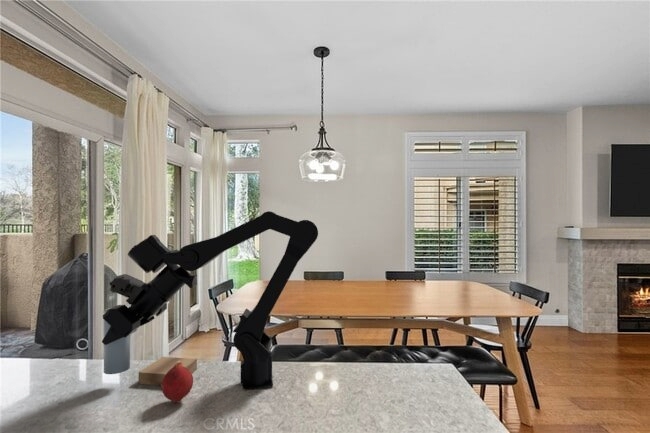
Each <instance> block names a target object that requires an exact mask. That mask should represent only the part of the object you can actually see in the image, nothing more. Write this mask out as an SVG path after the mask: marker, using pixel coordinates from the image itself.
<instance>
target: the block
mask: <svg viewBox="0 0 650 433" xmlns="http://www.w3.org/2000/svg"><path fill="white" fill-rule="evenodd" d="M178 361H181V362H182V366H184V367H186V368H187V369H188V370H189V371H190V372H191V374H192V375H193V373H194V372H196V370H197V369H198V359H197V358H190V357H189V358H188V357H173V356H172V357H169V356H162V357H161V358H159V359H157V360H156V361H154V362H152V363H151V364H150V365H148V366H146V367H144V368H143V369H141V370H140V371H138V384H141V385H152V386H162V381H163V378H164V376H165V375H166V373H167V372H168V371H169V370H170V369H171V368H173V367H174V365H175V364H176V362H178Z"/></svg>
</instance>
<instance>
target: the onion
mask: <svg viewBox="0 0 650 433" xmlns="http://www.w3.org/2000/svg"><path fill="white" fill-rule="evenodd" d="M193 384H194V376H193V373H192V374H191V372H190V371H189V370H188V369H187V368H186V367H184V366H182V362H181V361H178V362H176V364H175V365H174V367H173V368H171V369H170V370H169V371H168V372H167V373H166V375H165V376H164V378H163V381H162V385H161V391H162V394H163V396H164V397H165V398H166V399H167V400H168V401H169V400H170V401H172V402H174V403H180V402H181V401H182V400H183V399H184V398H186V396H188V395H189V394H190V392H191V390H192V389H193V386H194V385H193Z"/></svg>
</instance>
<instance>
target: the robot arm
mask: <svg viewBox="0 0 650 433" xmlns="http://www.w3.org/2000/svg"><path fill="white" fill-rule="evenodd" d="M269 230H270V231H274V232H277V233H279V234H282V235H285V236H287V237H289V239H288V241H287V245H286V248H285V251H284V254H283V256H282V258H281V260H280V261H279V263H278V265H277V267H276V268H275V271H274V272H273V274H272V276H271V278H270V280H269V281H268V283H267V285H266V287H265V288H264V290H263V293H262V294H261V296H260V298H259V300H258V302H257V304H256V305H255V306H254V307H253V308H252V310H251V311H250V310H249V309H248V308H245V309H244V311H243V313H242V315H241V317H240V319H239V321H238V322H237V324H236V325H235V327H234V328H233V330H232V333H234V335H233V339H232V340H233V344H234V347H235V348H236V350H237V351H238V352H240V354H241V356H242V359H243V360H240V384H241V385H242V390H244V391H245V390H246V391H248V390H255V389H265V388H273V387H274V380H273V354H272V351H271V348H272V347H271V346H272V342H273V339H272V338H271V337H270V335H268V334H267V333H266V332H265V328H266V325H267V322H268V319H269V316H270V315H271V312H272V310H273V309H274V307H275V305H276V303H277V301H278V300H279V298H280V296H281V294H282V292H283V290H284V289H285V287H286V285H287V284H288V281H289V279H290V277H291V276H292V273H293V272H294V270H295V268H296V267H297V265H298V263H299V262H300V260H301V259H302V258H303V256H305V254H306V253H307V252H308V251H309V250H310V248H311V247H312V246H313V245H314V243H315V242H316V240H317V239H318V237H319V228H318V227H317V225H316V224H315V223H314V222H312V221H311V220H308V219H303V220H299V221H297V220H293V219H291V218H288V217H285V216H282V215H280V214H277V213H276V212H274V211H270V210H268V211H264V212H263V213H262V214H261V215H259V216H257V217H255V218H252V219H250V220H249V221H246V222H245V223H242V224H240V225H238V226H236V227H234V228H231V229H229V230H227V231H226V232H224V233H222V234H219V235H217V236H216V237H215V236H214V237H211V238H207V239H204V240H200V241H196V242H194V243H191V244H187V245H186V244H185V245H184V246H183V247H181V248H180V249H179V250H178V249H172V250H170V249H169V248H168V247H167V246H166V245H165V244H164V243H163V242H161V240H160V238H159V237H158V236H157V235H155V234H150V235H149V236H147V238H145V239H143V240H142V241H140V242H139V243H137V244H135V245H134V246H133V247H132V248H130V250H129V251H128V253H127V256H128V257H129V258H130V259H131V260H132V261H133V262H134V263H135V264H136V265H138V267H140V268H141V270H142V271H143V272H145V274H149V273H151V272H152V273H153V274H156V275H155V276H154V278H152V280H150V281H149V282H147V283H146V282H144V281H143V280H141V279H139V278H136V277H133V276H132V275H130V274H125V273H123V274H119V275H116V276H115V277H114V278H113V280H112V281H110V282H109V286H110V288H109V291H110V292H111V293H116V294H118V295H121V296H122V297H125V298H127V299H126V300H125V301H126V302H127V304H129V305H130V306H127V305H126V304H117V305H115V306H113V307H110V308H111V309H109V308H108V309H109V310H108V311H107V312H106V313H105V314H104V315H103V314H102V319H103V321H104V320H105V321H106V322H107V323H108V324H109V325H110V328H109V330H108V332H107V333H106V335H105V337H104V336H103V339H102V340H101V343H102V344H103V346H104V345H107V344H109V343H111V342H114V341H116V340H118V339H121V338H123V337H125V338H126V337H127V336H129V335H130V336H131V335H132V334H134V333H135V332H136V331H138V329H139V328H140V327H143V326H144V325H146V324H148V323H150V322H151V321H154V319H155V317H159V316H160V315H162V314H163V313H164V312H165V311H166V310H167V309H168V303H169V302H170V301H171V300H172V299H173V297H174V296H175V295H176V294H177V293H178V292H179V290H180V289H181V288H182V287H183V286H185V285H186V286H187V287H188V288H190V289H192V288H194V287H195V286H197V285H198V282H197V277H198V274H197V273H194V274H193V273H190V272H194V271H197V270H199V269H201V268H203V267H206V266H207V265H208V264H209V263H211V262H212V261H214V260H215V259H216V258H218V257H219V256H220V255H221V254H223V253H224V252H226V251H228V250H230V249H232V248H234V247H236V246H237V245H240V244H242V243H244V242H246V241H249V240H250V239H252V238H254V237H256V236H258V235H260V234H262V233H265V232H266V231H269ZM159 271H160V272H159ZM157 273H158V274H157Z"/></svg>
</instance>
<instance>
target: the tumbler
mask: <svg viewBox="0 0 650 433" xmlns="http://www.w3.org/2000/svg"><path fill="white" fill-rule="evenodd" d="M111 308H112V307H110V308H105V309H104V310H102V316H103V315H104V314H105V313H106V312H107V311H108V310H109V309H111ZM109 328H110V325H109V324H108V323H107V322H106V321H105V320H104V319H103V338H104V337H105V335H106V333H107V332H108V330H109ZM130 368H131V334H130V335H129V336H127V337H126V338H125V337H123V338H121V339H118V340H116V341H114V342H111V343H109V344H107V345H104V344H103V372H102V373H103V374H106V375H117V374H121V373H123V372H126V371H129V369H130Z"/></svg>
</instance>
